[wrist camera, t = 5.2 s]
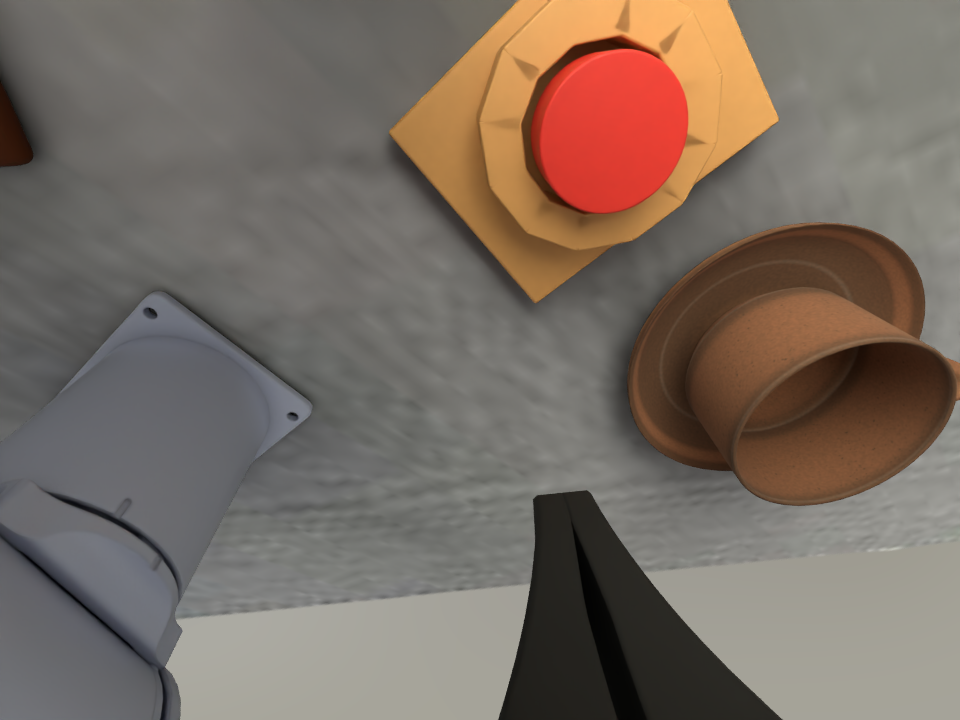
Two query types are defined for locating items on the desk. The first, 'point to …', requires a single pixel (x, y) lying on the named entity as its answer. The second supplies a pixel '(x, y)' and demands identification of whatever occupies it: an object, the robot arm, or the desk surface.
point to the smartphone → (12, 135)
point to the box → (512, 102)
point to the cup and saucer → (794, 365)
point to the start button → (610, 129)
